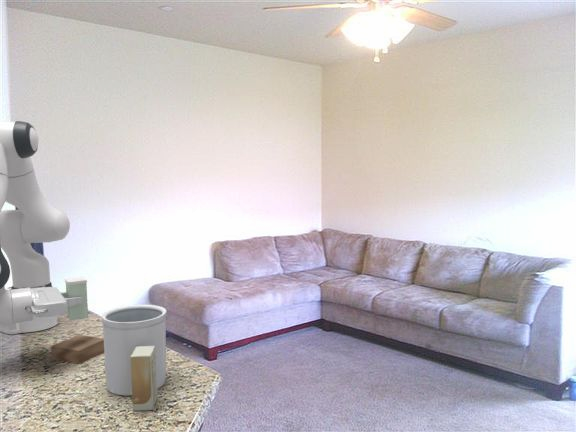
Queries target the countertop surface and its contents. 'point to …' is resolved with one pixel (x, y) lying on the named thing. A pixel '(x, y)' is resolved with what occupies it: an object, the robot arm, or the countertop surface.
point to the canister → (73, 290)
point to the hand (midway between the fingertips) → (80, 297)
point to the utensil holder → (132, 343)
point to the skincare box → (143, 378)
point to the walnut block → (78, 349)
